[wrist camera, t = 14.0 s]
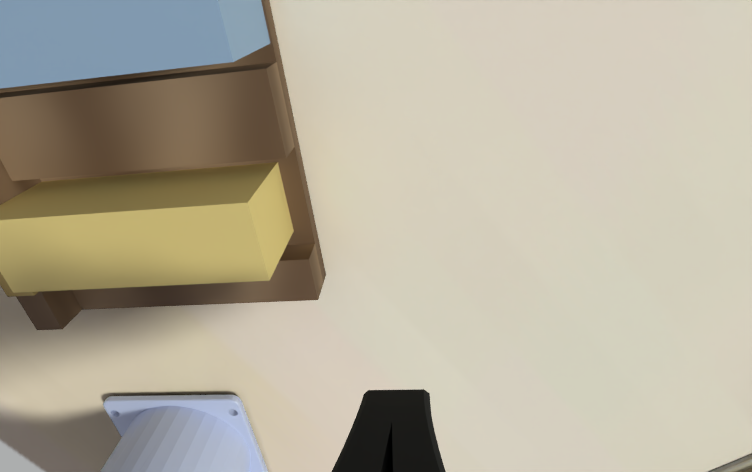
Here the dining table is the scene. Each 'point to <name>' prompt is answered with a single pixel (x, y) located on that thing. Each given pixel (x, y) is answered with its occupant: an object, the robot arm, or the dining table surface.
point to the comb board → (163, 161)
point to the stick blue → (122, 37)
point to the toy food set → (737, 466)
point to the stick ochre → (146, 229)
